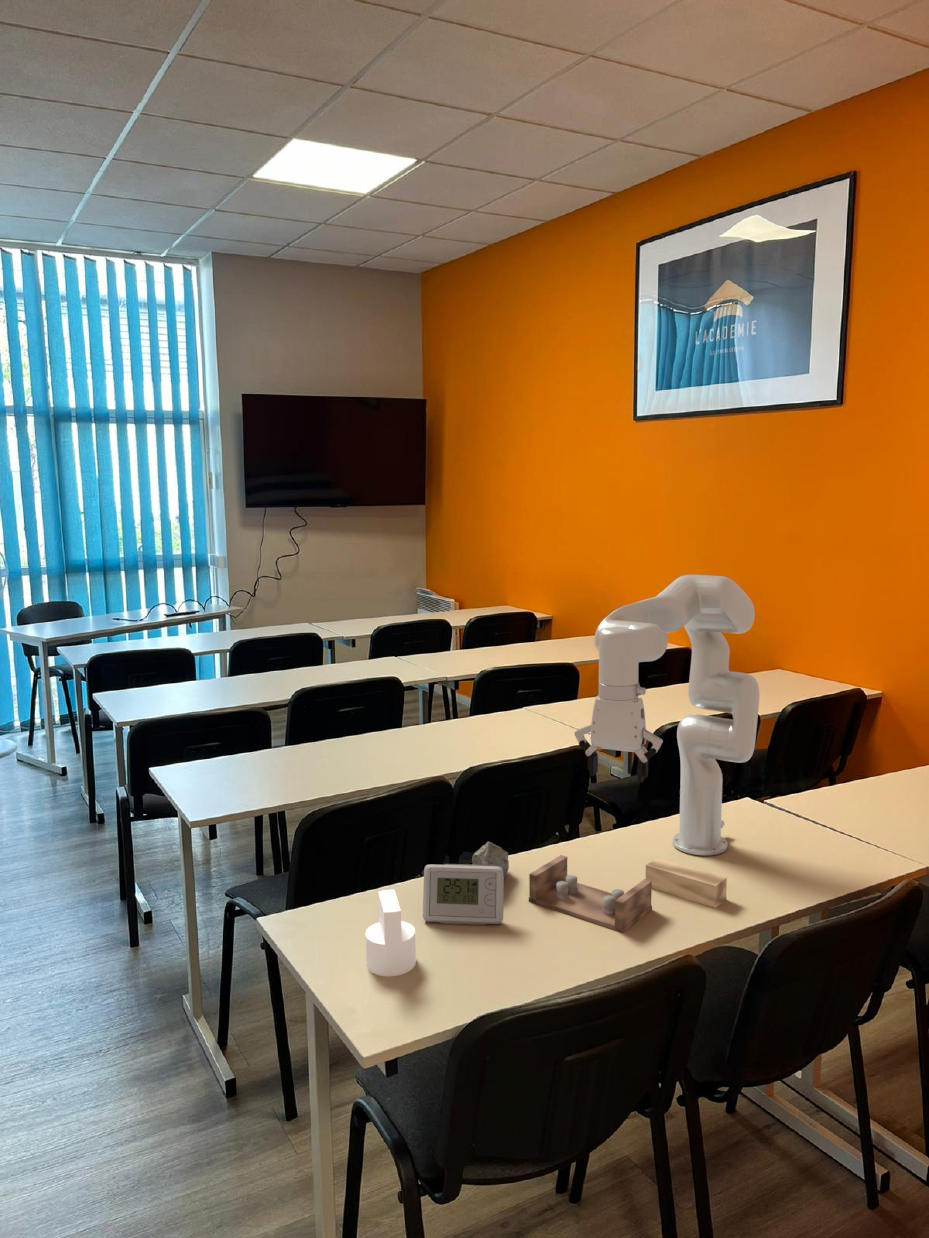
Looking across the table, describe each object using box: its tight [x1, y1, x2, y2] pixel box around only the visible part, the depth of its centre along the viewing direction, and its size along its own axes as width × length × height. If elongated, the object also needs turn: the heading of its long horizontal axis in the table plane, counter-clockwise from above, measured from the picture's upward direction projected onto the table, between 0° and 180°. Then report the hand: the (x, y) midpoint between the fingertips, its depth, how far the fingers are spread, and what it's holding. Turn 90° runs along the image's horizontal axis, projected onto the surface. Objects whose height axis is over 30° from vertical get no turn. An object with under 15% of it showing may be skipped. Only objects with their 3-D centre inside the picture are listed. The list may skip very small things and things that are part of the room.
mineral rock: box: [471, 841, 510, 878], centre depth 193 cm, size 13×11×10 cm
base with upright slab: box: [364, 889, 417, 977], centre depth 162 cm, size 9×9×12 cm
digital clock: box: [422, 863, 505, 926], centre depth 178 cm, size 16×9×11 cm, turn 72°
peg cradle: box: [528, 854, 653, 933], centre depth 183 cm, size 12×22×6 cm, turn 51°
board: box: [645, 857, 728, 909], centre depth 188 cm, size 5×16×5 cm, turn 49°
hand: (617, 776), depth 175 cm, fingers open, 9 cm apart
